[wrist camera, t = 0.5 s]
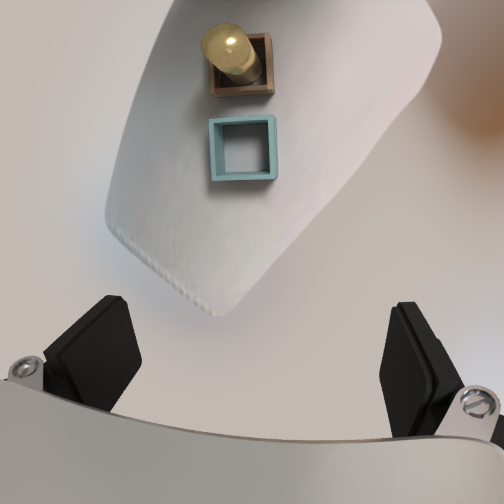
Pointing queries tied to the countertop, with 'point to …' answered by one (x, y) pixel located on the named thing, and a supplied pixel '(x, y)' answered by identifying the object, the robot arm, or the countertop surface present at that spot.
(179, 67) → the countertop surface
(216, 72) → the socket block
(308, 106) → the countertop surface
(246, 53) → the gold domed peg
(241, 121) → the block
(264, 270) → the countertop surface
